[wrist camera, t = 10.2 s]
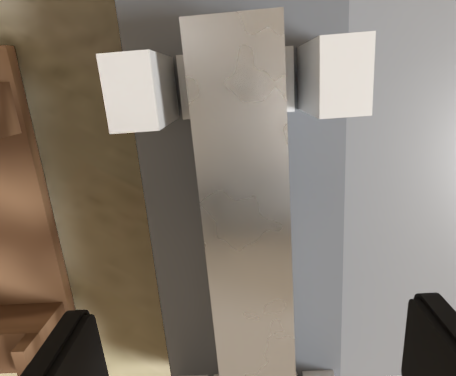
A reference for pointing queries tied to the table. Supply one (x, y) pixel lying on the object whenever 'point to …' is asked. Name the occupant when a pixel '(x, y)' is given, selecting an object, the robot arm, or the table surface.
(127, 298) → the table surface
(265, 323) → the bar
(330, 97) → the equipment case
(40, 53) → the table surface
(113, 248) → the table surface
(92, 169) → the table surface
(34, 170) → the bar stand
